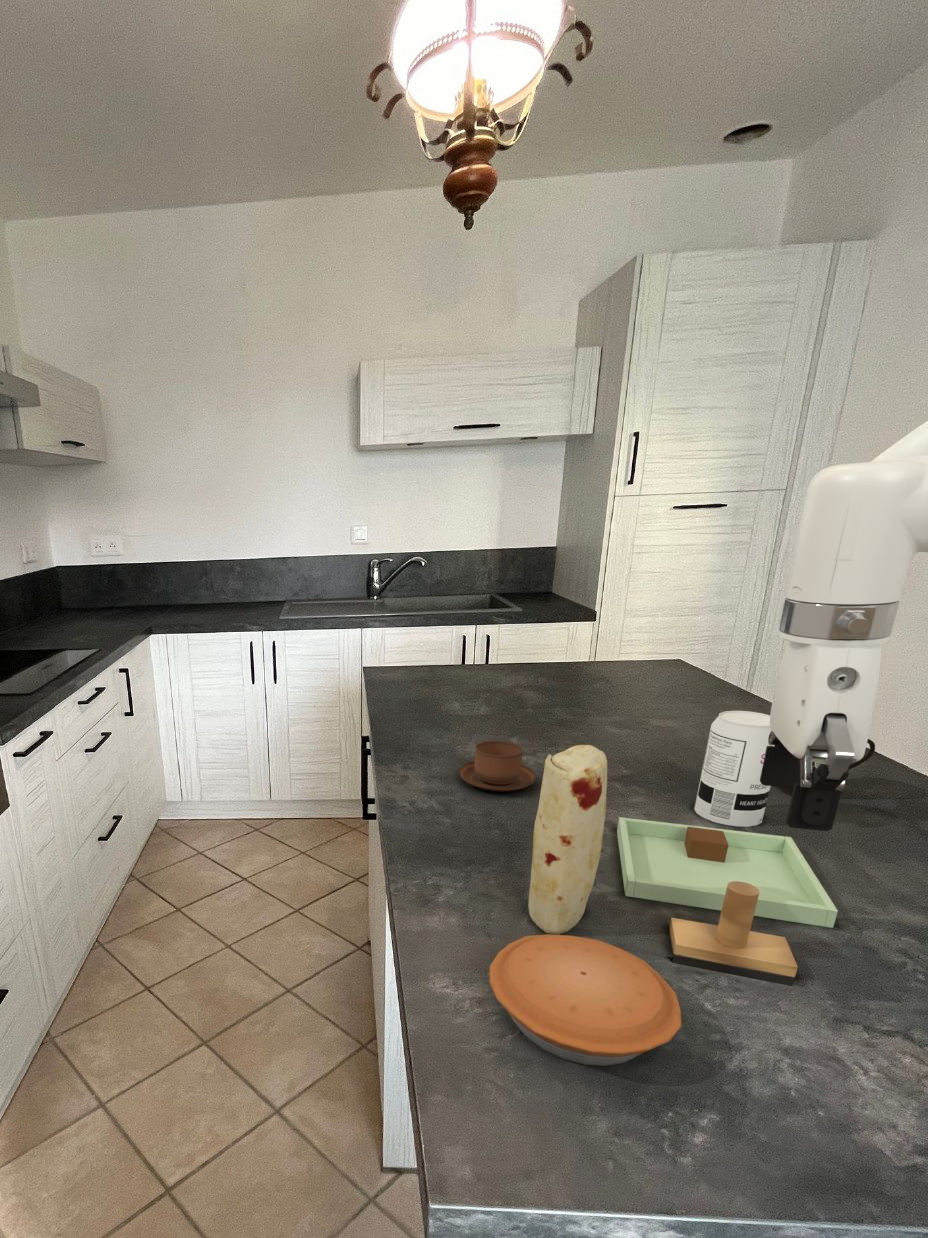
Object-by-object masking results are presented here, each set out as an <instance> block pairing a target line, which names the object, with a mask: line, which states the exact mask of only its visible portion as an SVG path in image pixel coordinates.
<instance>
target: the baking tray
mask: <svg viewBox="0 0 928 1238" xmlns="http://www.w3.org/2000/svg"><path fill="white" fill-rule="evenodd" d="M687 827H695V828H703V829H710V830H718V831H723V832H724V834H725V837H726V839H727V842H728V850H727V854H726V859H725V863H723V862H716V861H709V860H702V859H695V858H688V856H687V852H686V849H685V845H684V842H685V837H686V832H687ZM616 834H617V842H618V850H619V857H620V858H619V859H620V865H621V874H622V881H623V888H624V895H625V896H624V897H631V898H638V899H642V900H643V899H644V900H650V901H656V902H662V903H670V904H675V905H681V906H687V907H695V908H702V909H710V910H715V911H721V910H722V906H723V902H724V897H725V893H726V889H727V884H728V883H729V882H733V881H739V882H745V883H748V884H751V885H753V886H755V887H756V888H758V889H759V891H760V893H759V897H758V901H757V905H756V909H755V913H754V917H761V918H765V919H766V918H767V919H772V920H773V919H774V920H780V921H786V922H793V923H798V924H804V925H805V924H806V925H813V926H817V927H818V926H819V927H823V928H824V927H825V928H831V929H833V928H834V926H835V923H836V920H837V916H838V914H839V913H838V912H839V910H838V908H837V907H836V905H835V904H834V902H833V901H832V899H831V898H830V896H829V894H828V893H827V891H826V890H825V888H824V887H823V885H822V884H821V882H820V880H819V878H818V877H817V875H816V874H815V873H814V871H813V868H811V867H810V864H809V863H808V861H807V860H806V859H805V856H804V855H803V854H802V852H801V850H800V849H799V847H798V845H797V844H796V843H795V840H794V839H793V837H792V836H783V835H775V834H767V833H758V832H751V831H750V832H749V831H740V830H733V829H732V830H731V829H724V828H715V827H708V826H707V827H706V826H698V825H692V824H691V825H690V824H689V825H688V824H681V823H673V822H664V821H657V820H656V821H655V820H646V819H639V818H630V817H621V816H619V817H618V822H617V828H616Z"/></svg>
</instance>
